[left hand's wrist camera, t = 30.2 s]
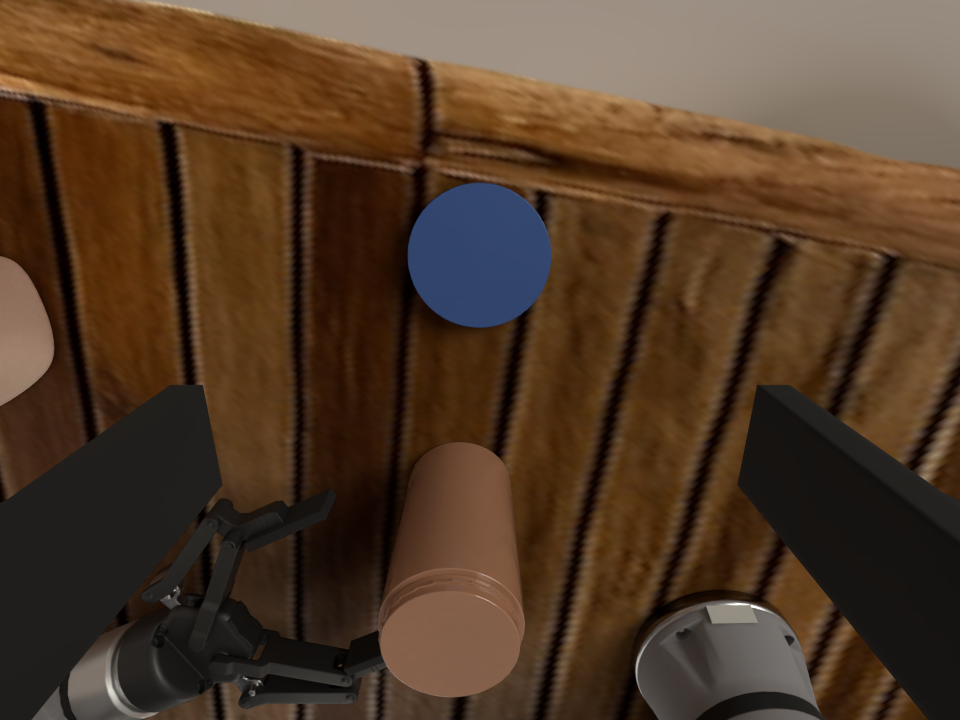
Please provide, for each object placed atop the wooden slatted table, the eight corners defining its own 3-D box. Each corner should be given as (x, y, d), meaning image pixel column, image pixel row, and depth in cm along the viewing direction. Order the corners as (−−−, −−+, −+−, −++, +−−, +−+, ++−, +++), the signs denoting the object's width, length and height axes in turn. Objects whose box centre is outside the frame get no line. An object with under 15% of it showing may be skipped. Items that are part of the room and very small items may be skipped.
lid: (574, 270, 38) (578, 274, 37) (465, 346, 40) (464, 353, 39) (495, 151, 35) (495, 151, 34) (381, 240, 37) (377, 242, 36)
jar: (402, 445, 43) (361, 592, 28) (507, 437, 43) (522, 581, 28) (415, 532, 46) (385, 706, 31) (514, 525, 46) (530, 697, 31)
